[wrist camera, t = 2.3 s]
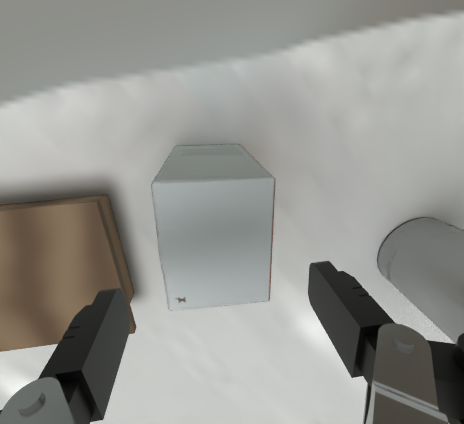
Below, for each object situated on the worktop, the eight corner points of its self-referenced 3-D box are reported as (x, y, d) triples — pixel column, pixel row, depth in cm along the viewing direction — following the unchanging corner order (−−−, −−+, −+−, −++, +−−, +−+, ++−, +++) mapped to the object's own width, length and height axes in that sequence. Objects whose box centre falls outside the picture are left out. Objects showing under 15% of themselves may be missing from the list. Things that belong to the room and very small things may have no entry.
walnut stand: (115, 183, 25) (96, 201, 20) (144, 298, 30) (134, 333, 26) (-40, 198, 24) (-98, 220, 19) (18, 314, 29) (-16, 353, 25)
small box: (241, 219, 28) (271, 304, 16) (181, 222, 27) (166, 314, 15) (240, 141, 25) (277, 176, 13) (173, 144, 24) (146, 182, 12)
